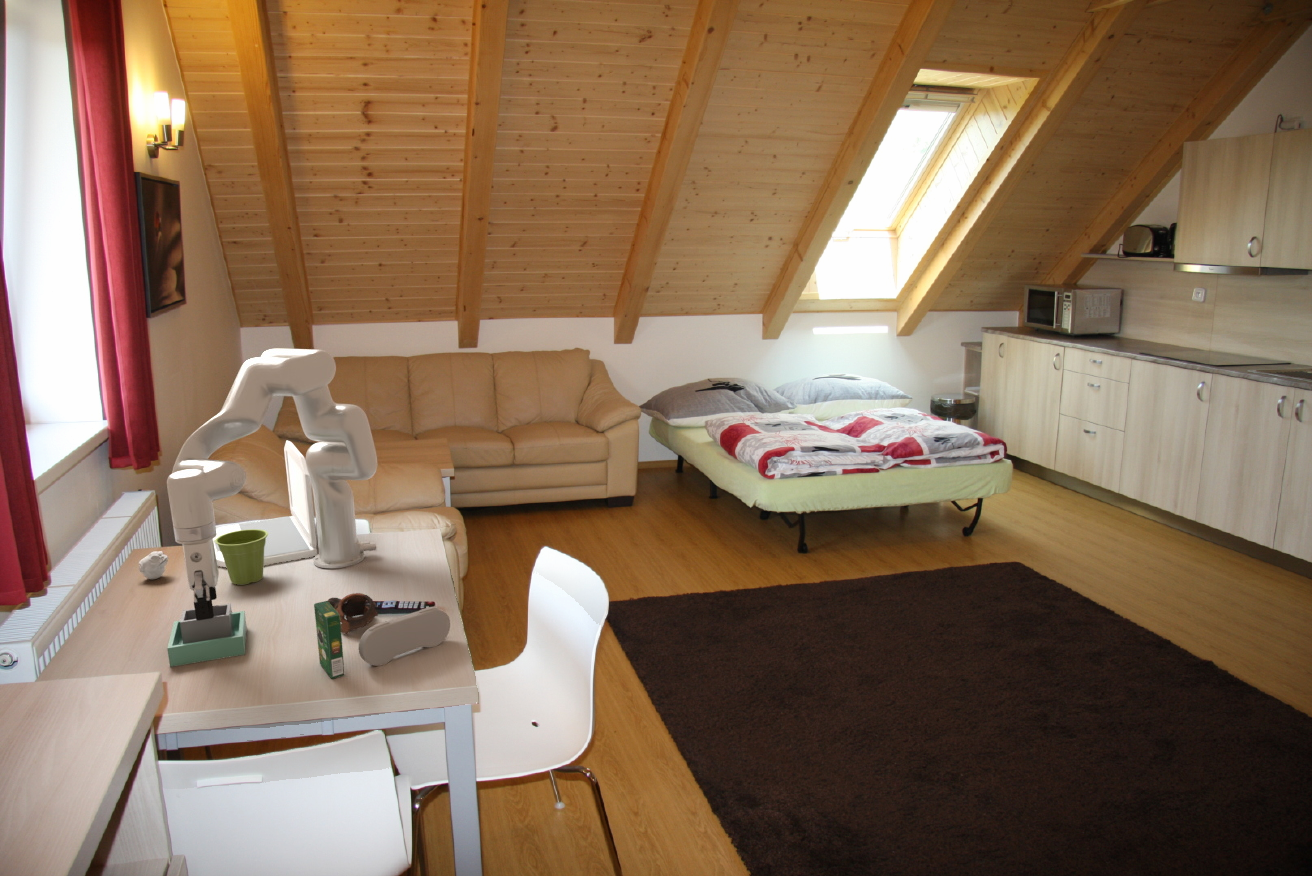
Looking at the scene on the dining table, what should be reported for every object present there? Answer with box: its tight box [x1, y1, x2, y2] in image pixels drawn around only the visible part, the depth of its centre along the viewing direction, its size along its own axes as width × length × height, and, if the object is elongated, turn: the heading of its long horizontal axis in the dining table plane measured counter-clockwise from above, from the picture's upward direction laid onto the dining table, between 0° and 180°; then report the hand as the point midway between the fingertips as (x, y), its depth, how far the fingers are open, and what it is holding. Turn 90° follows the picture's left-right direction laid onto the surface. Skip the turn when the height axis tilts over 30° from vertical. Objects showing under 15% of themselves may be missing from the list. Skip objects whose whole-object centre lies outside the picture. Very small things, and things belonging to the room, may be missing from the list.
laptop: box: [213, 440, 318, 569], centre depth 247 cm, size 33×24×26 cm
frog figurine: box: [138, 550, 169, 580], centre depth 226 cm, size 6×7×7 cm
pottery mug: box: [327, 592, 379, 635], centre depth 199 cm, size 12×10×8 cm
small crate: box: [179, 603, 234, 644], centre depth 189 cm, size 9×6×6 cm
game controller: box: [358, 606, 451, 667], centre depth 185 cm, size 20×2×8 cm, turn 133°
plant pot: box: [215, 529, 268, 586], centre depth 224 cm, size 12×12×11 cm
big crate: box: [166, 610, 248, 668], centre depth 190 cm, size 14×14×4 cm
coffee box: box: [313, 600, 346, 680], centre depth 178 cm, size 8×3×13 cm, turn 36°
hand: (207, 609), depth 189 cm, fingers open, 9 cm apart
